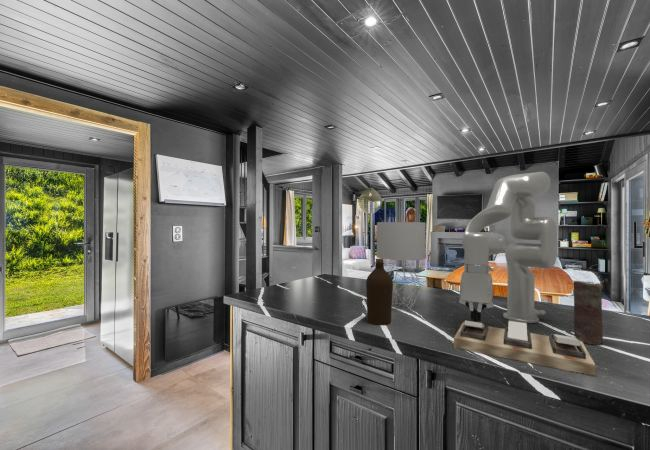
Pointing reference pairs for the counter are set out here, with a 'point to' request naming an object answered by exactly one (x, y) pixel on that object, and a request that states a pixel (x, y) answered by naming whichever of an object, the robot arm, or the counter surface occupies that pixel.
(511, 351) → the switch panel
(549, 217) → the robot arm
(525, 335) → the rocker middle
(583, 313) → the candle
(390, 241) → the table lamp
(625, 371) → the counter surface
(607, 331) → the counter surface
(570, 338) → the rocker right
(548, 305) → the counter surface
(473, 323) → the rocker left
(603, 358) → the counter surface
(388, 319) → the olive oil
